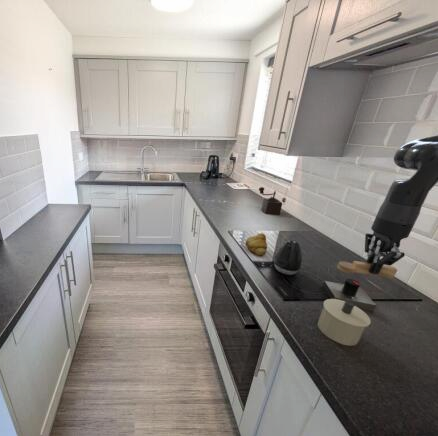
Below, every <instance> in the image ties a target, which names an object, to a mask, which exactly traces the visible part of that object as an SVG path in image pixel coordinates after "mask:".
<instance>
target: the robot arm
mask: <svg viewBox="0 0 438 436" xmlns="http://www.w3.org/2000/svg"><path fill="white" fill-rule="evenodd" d="M393 162H394V164H395V165H396V166H397V167H398V168H401V169H404V170H410V171H416V172H415V173H414V174H413V175H412V176H411V177H410V178H398V179H395V180H393V181H392V183H391V184H390V187H389V188H388V190H387V193H386V195H385V197H384V200H383V202H382V203H381V205H380V207H379V208H378V211H377V212H376V213H377V214H376V215H375V217H374V220H373V223H372V225H371V228H370V229H371V231H373V233H365V238H364V253H366V256H367V259H366V261H365V262H366V263H372V264H371V267H370V269H369V272H370V273H371V274H379V273H380V271H381V269H382V267H383V265H386V266H393V265H394V264H395V263H397V262H398V261H400V260H401V259H402V258H404V257H405V256H406V255H405V252H401V251H400V249H399V248H400V246H401V242H402V241H401V240H404V239H407V238H409V236H410V234H411V232H412V231H413V228H414V226H415V224H416V222H417V220H418V218H419V216H420V214H421V210H422V207H423V206H424V203H425V201H426V199H427V197H428V195H429V193H430V191H431V190H432V189H433V188H434V187H435V185H437V184H438V134H437V135H432V136H427V137H423V138H418V139H415V140H411V141H409V142H407V143H405V144H403V145H402V146H401V147H399V148H398V149H397V150H396V152H395V153H394V155H393Z"/></svg>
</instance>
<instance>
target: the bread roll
mask: <svg viewBox="0 0 438 436" xmlns="http://www.w3.org/2000/svg"><path fill="white" fill-rule="evenodd" d="M245 245H246V247H247V249H248V250H249V251H250V252H253V253H254V254H255V255H258V256H264V255H266V253H267V250H268V243H267V236H266V235H265V234H264V233H257V234H255V235H253V236H249V237H247V239H246V240H245Z"/></svg>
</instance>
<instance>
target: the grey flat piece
mask: <svg viewBox="0 0 438 436" xmlns="http://www.w3.org/2000/svg"><path fill="white" fill-rule="evenodd" d="M343 286H344V283H339V282H332V281H328V280H324V281H323V284H322V286H321V288H322V287H323V288H322V290H323V291H324V290H325V291H324V292H325V294H326V293H327V294H326V295H327V297H328V296H329V297H328V299H329V298H330V299H338V300H342V301H349V302H351V303H353V304H354V306H356V307H358V308H359V309H361V310H362V311H366V312H371V313H373V312H374V311H375V309H376V307H377V304H376V303H375V302H374V301H373V300H372V298H371V296H369V295H368V294H367V293H366V291H365V290H364V289H363V288H362V287H360V286H359V289H358V291H357V293H356V295H354V296H352V295H348V294H346V293H344V292H343V291H342V288H343Z"/></svg>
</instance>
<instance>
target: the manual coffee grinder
mask: <svg viewBox="0 0 438 436" xmlns="http://www.w3.org/2000/svg"><path fill="white" fill-rule="evenodd" d="M258 191H259V194H261V196H271V197H268V198H265V197H264V198H263V200H262V204H261V208H260V210H261V212H262V213H263V214H265V215H271V216H272V215H273V216H280V214H281V211H282V206H283V202H282V201H281V200H279V199H278V198H276V194H277V191H276V190H274V191H273V193H265V187H263V186H260V187H259V188H258Z"/></svg>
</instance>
